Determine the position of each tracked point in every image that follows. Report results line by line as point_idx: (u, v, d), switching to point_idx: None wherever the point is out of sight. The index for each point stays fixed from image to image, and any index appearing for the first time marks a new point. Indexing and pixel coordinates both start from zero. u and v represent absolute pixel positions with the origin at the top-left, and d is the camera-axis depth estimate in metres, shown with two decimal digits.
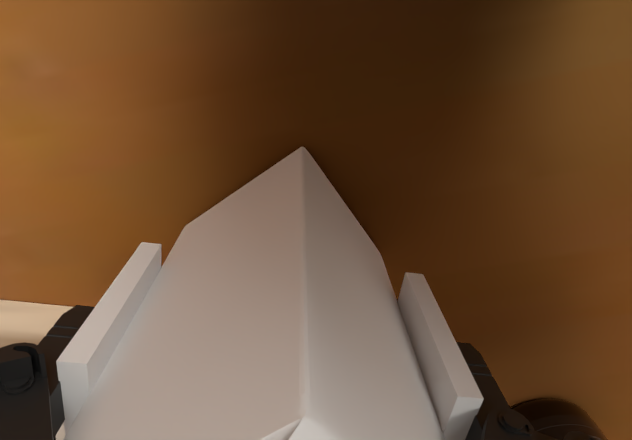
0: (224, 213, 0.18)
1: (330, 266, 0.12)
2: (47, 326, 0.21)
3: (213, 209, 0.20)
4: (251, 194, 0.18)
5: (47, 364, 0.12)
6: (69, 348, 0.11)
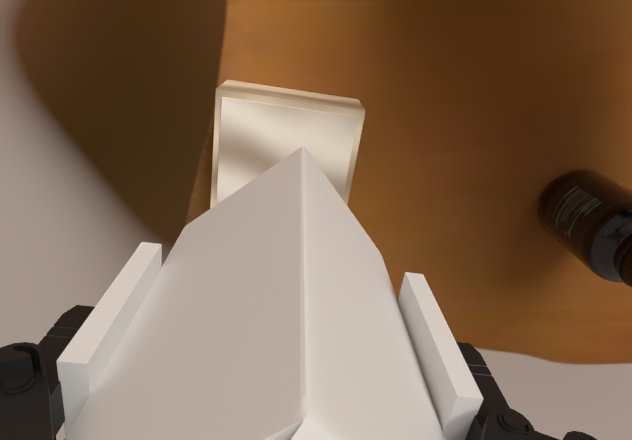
0: (224, 213, 0.18)
1: (331, 266, 0.12)
2: (273, 89, 0.34)
3: (213, 209, 0.20)
4: (251, 194, 0.18)
5: (47, 364, 0.12)
6: (69, 348, 0.11)
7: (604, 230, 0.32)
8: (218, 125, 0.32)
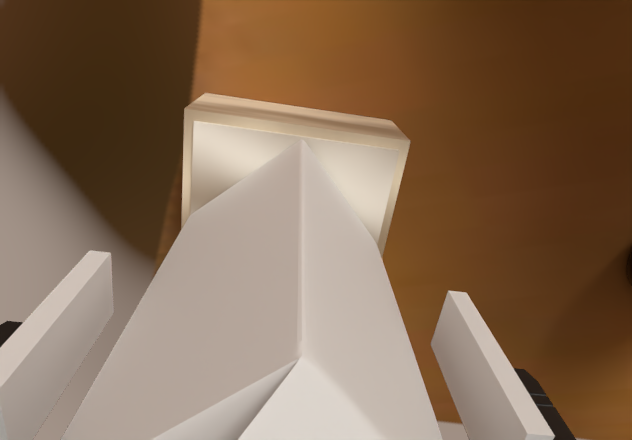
0: (228, 202, 0.19)
1: (326, 245, 0.13)
2: (271, 107, 0.24)
3: (217, 199, 0.21)
4: (253, 184, 0.19)
5: None
6: None
7: None
8: (189, 163, 0.21)
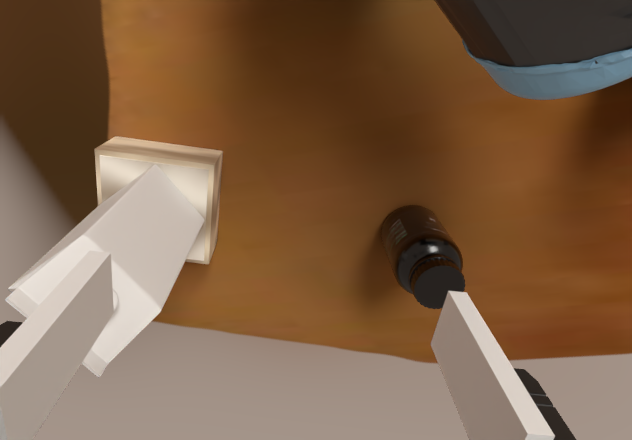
0: (113, 196, 0.39)
1: (130, 211, 0.33)
2: (148, 145, 0.43)
3: (113, 195, 0.41)
4: (125, 187, 0.39)
5: None
6: None
7: (402, 257, 0.42)
8: (99, 176, 0.41)
